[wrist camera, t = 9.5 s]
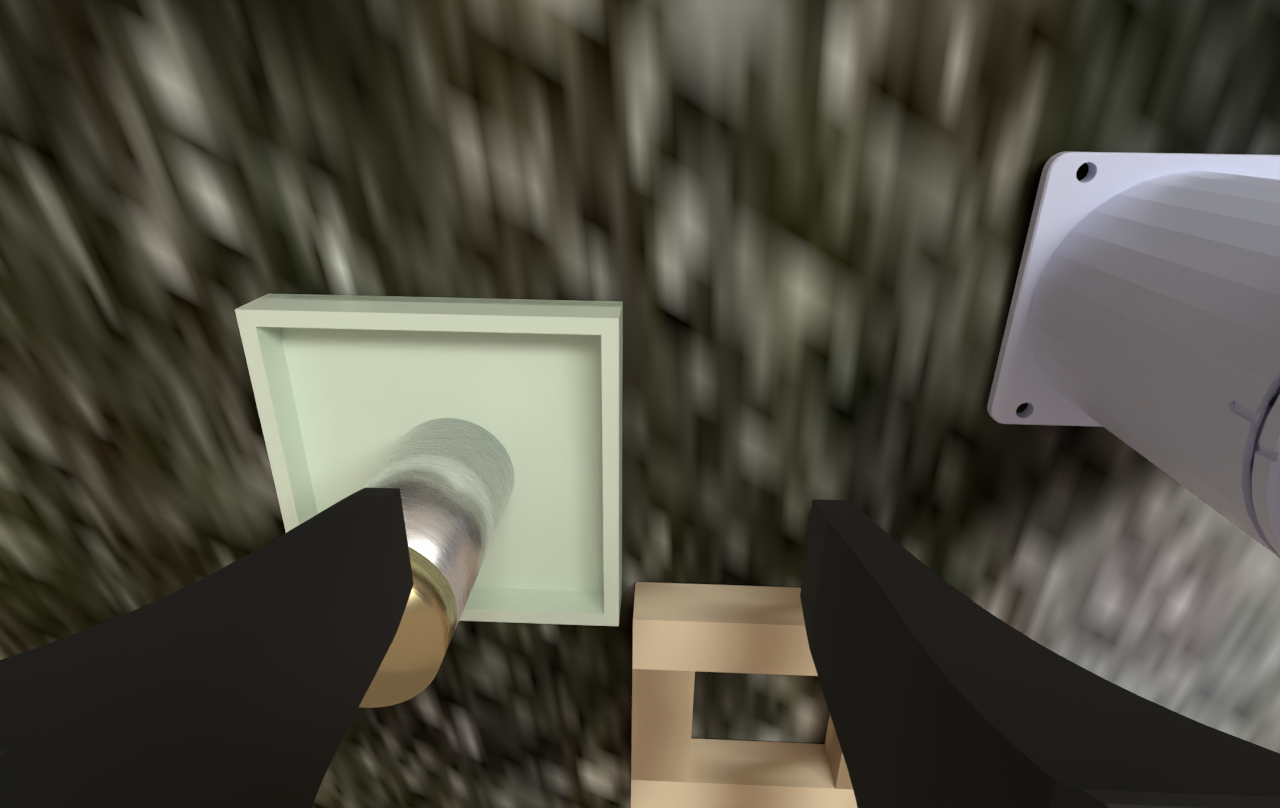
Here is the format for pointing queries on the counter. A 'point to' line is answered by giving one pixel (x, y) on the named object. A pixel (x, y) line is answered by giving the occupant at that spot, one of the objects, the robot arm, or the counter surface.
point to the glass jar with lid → (439, 541)
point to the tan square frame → (664, 689)
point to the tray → (468, 390)
